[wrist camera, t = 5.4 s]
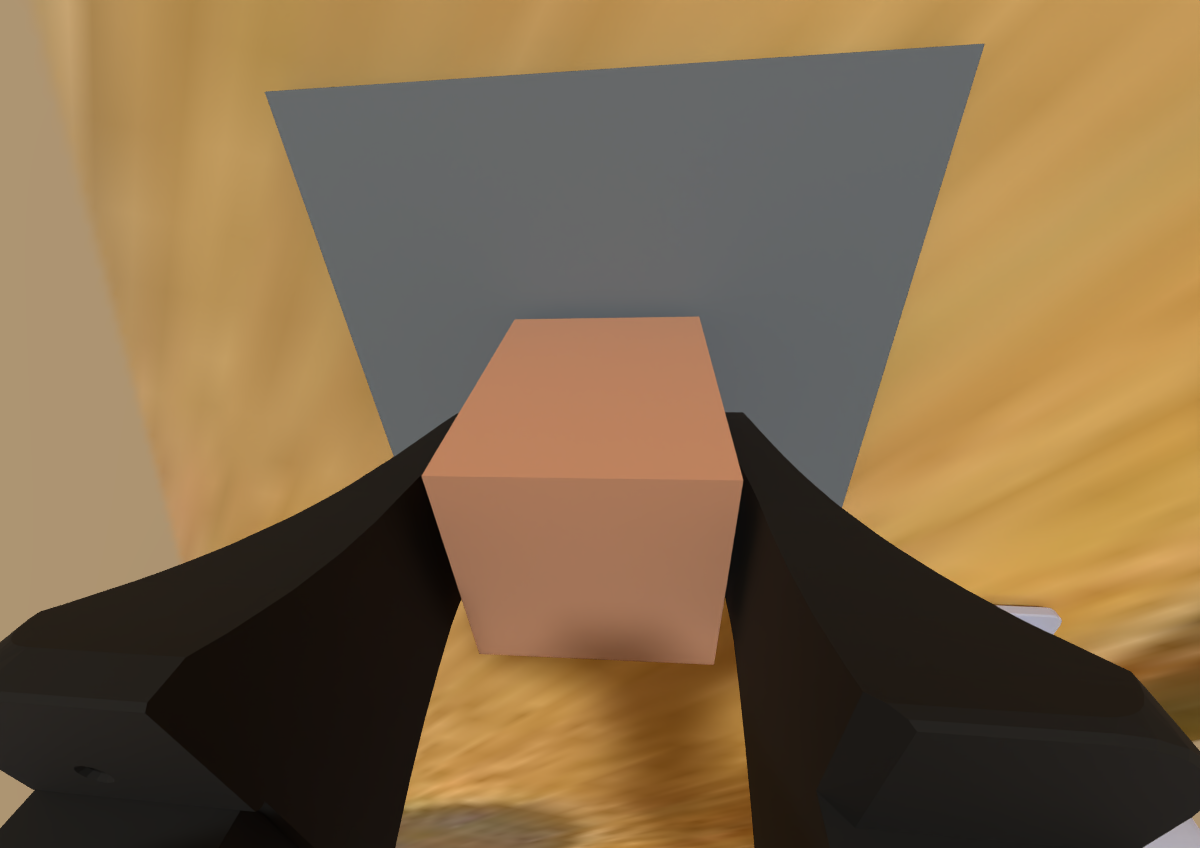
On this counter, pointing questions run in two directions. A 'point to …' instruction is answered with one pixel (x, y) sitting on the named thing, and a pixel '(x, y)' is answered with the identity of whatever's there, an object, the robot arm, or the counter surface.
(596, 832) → the counter surface
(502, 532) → the block
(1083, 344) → the counter surface
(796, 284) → the mat
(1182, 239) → the counter surface
